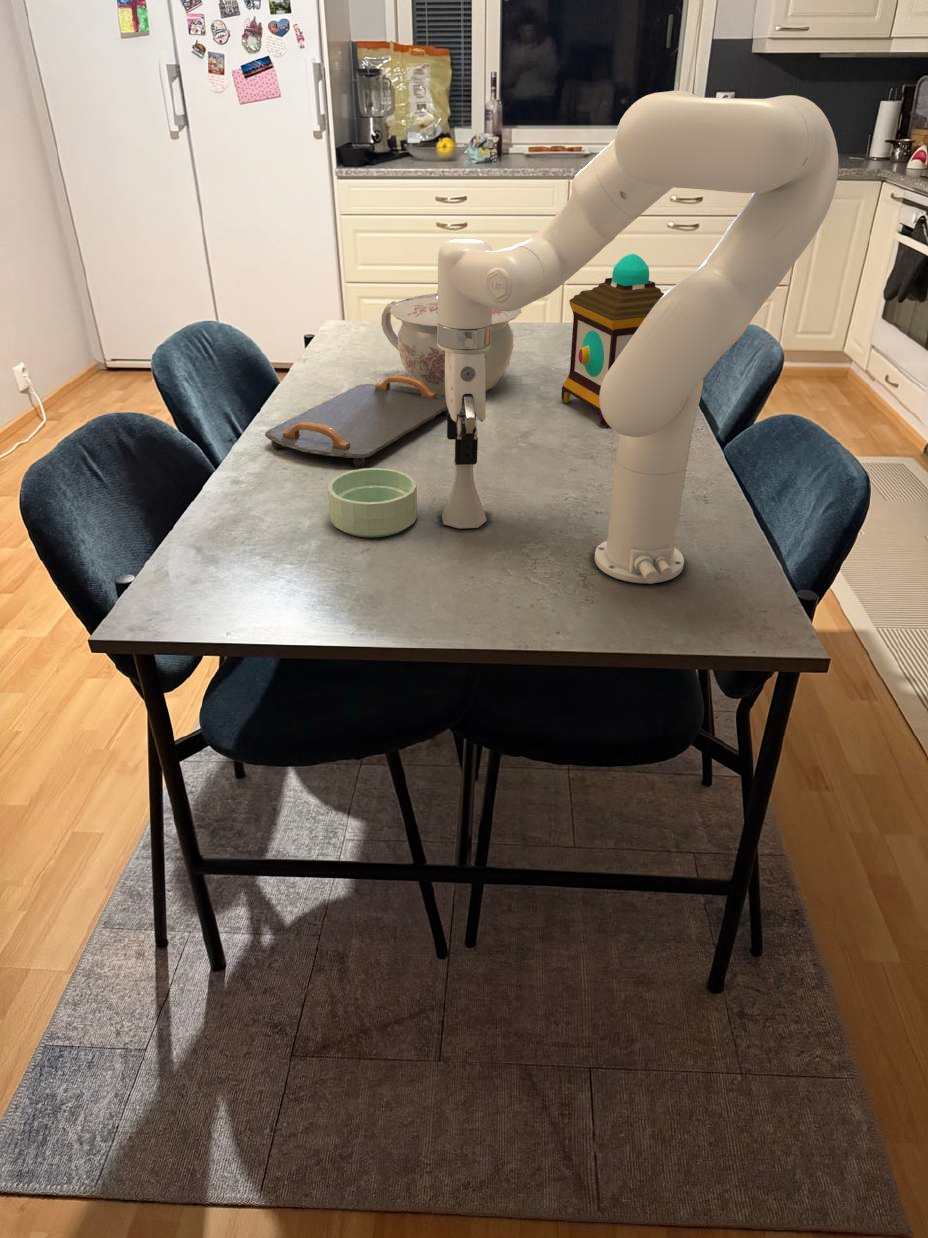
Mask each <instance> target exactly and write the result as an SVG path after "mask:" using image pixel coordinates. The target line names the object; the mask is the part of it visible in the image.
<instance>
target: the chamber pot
mask: <svg viewBox="0 0 928 1238" xmlns="http://www.w3.org/2000/svg"><path fill="white" fill-rule="evenodd" d="M521 314H522V308H520V309H518V310H515V311H500V310H496V309H493V308H492V323H491V347H490V349H489V350H487V351H485V352H484V356H485V383H486V385H485V392H487V391H489V390H492V388H494V387H495V386H496V384H497V383H499V381H500V379H501V378H502V376H503V375H504V373H505V372H506V370H507V369H508V367H509V366H510V362H511V358H512V354H513V349H514V330H513V328H512V326H511V324H510V321H513V320H515V319H517V318H518V316H520V315H521ZM392 316H393V317H394V318H395V319H396V320H399V321H401V325H400V326H399V328H398V332H397V334H396V332H395V331H394V329H393V325H392ZM380 323H381V324H380V325H381V327H382V331H383V334H384V336H386V338H387V340H388V341H389V343H390V344H391V345H392V346H393V347H394V348H395V349H396V350H397V351H398V352H399V356H400V360H401V364H402V366H403V368H404V369H405V371H406V373H407V374H408V377H411V378H415V379H417V380H420V381H421V382H423V383H424V384H425V385H426V386H427V387H428V389H429V390H430V391H431V392H434V393H436V394H439V395H442V396H444V397H445V351H443V350H441V349H439V348H438V346H437V323H438V292H435V293H434V292H433V293H425V294H420V295H416V296H411V297H408V298H404V299H402V300H399V301H396V300H393V301H391V302H389V303H387V305H386V306H385V307H384V309H383V311H382V314H381V321H380Z"/></svg>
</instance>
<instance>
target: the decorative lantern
mask: <svg viewBox="0 0 928 1238" xmlns="http://www.w3.org/2000/svg"><path fill="white" fill-rule="evenodd" d="M664 294H665V293H664V292H662V290H661V288H659V287H657V286H656V282H655V281H652V280H650V268H649V266H648V265H647V263H646V261H645V260H644V259H643V258H642V257H641V256H639V255H638V254H636V253H629V254H626V255H624V256H623V257H621V259H620V260H619V261H618V262H617V263H616V264H614V266H613V270H612V274H611V277H606V278H604V282H600V283H599V284H598V286H594V287H593V288H592V289H586V290H581V291H580V292H579V293H578V294H575V295H573V297H572V298H570V299H569V301H568V303H569V307H570V308H571V311H572V314H573V318H572V319H573V320H572V332H571V333H572V336H571V347H570V348H571V349H570V362H569V363H570V365H569V373H568V376H567V377H566V379H565V380H564V382H563V384H562V387H561V395H560V396H561V401H562V403H569V401H570V398H571V396H573V397H575V398H577V399H578V400H580V401H581V402H583V403H584V404H586V405H588V406H589V407H591V408H593V409H594V410H596V411H597V412H598V413H599V416H600V417H599V418H600V420H599V421H600V426H601V427H602V428H606V427H607V426H608V424H607V422H606V421H605V419H604V417H603V415H602V412H601V408H600V402H599V395H600V389H601V385H602V382H603V380H604V377H605V376H606V374H607V372H608V371H609V369H610V368H611V366H612V365H613V363H614V362H615V360H616V359H617V358H618V356H619V355H620V353H621V352H622V351H623V349H624V348H625V346H626V345H627V343H628V342H629V341H630V339H631V338H632V336H633V335H634V334H635V332H636V331H637V329H638V328H639V326H640V325H641V324H642V322H643V321H644V319H645V318H646V316H647V315H648V314H649V312H650V311H651V309H652V308H653V307H654V306H655V304H656V303H657V302H658V301H659V300H660V298H661V297H662V296H663V295H664Z"/></svg>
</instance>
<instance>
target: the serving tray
mask: <svg viewBox="0 0 928 1238" xmlns="http://www.w3.org/2000/svg"><path fill="white" fill-rule="evenodd" d="M391 383H398V384H399V383H401V384H406V385H410V386H404V385H397V384H396V385H395V384H391ZM411 386H413V387H411ZM448 413H449V412H448V407H447V404H446V397H445V396H442V395H439V394H436V393H434V392H431V391H430V390H429V389H428V387H427V386H426V385H425V384H424V383H423V382H421V381H420V380H417V379H415V378H411V377H410V376H407V375H391V376H388V377H387V378H385V379H384V380H383V381H382V382H376V383H375V384H374V383H363V384H358V385H356V386H353V387H352V388H349V389H348V390H346V391H344V392H342V393H340V394H338V395H336V396H334V397H332V398H329V399H328V400H325V401H323V402H322V403H320V404H318V405H315V406H314V407H311V408H309V409H307V410H306V411H303V412H302V413H300V414H298V415H295V416H294V417H292V418H289V419H287V420H285V421H284V422H282V423H279V424H277V425H276V426H274V427H272V428H269V429H268V430H266V431H265V433H264V436H265V438H267V439H268V440H270V444H271V446H272V448H273V449H274V450H282V447H285V448H289V449H292V450H296V451H298V452H303V453H307V454H313V455H321V456H328V457H336V458H337V457H338V458H345V459H351V458H352V459H353V460H352V463H353V465H354V466H355V468H356V469H363V468H364V466H365V464H366V458H369V457H371V456H372V455H375V454H376V453H378V452H379V451H381V450H383V449H384V448H386V447H388V446H389V445H391V444H393V443H395V442H396V441H398V440H399V439H400V438H402V437H403V436H405V435H407V434H408V433H410V432H411V433H412V432H413V431H414V430H417V429H418V428H419V427H420V426H422V425H423V424H425V423H427V422H429V421H430V420H433V419H435V417H436V416H437V415H441V416H447V414H448Z"/></svg>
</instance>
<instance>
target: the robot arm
mask: <svg viewBox="0 0 928 1238" xmlns="http://www.w3.org/2000/svg"><path fill="white" fill-rule="evenodd" d="M838 176H839V153H838V146H837V141H836V137H835V134H834V131H833V128H832V126H831V124H830V122H829V119H828V118H827V116H826V115H825V113H824V112H823V110H822V109H821V108H820V107H819V106H818V105H817V104H816V103H815V102H813V101H812V100H810V99H808V98H806V97H803V96H800V95H795V94H794V95H787V94H786V95H778V96H773V97H768V98H731V97H729V98H728V97H723V98H722V97H704V96H703V97H701V96H698V95H696V94H694V93H693V92H689V91H686V90H669V91H661V92H653V93H650V94H647V95H645V96H643V97H641V98H639V99H638V100H636V101H635V102H633V104H631V105H630V106H629V107H628V108H627V110H626V111H625V112H624V114H623V115H622V117H621V118H620V121H619V123H618V125H617V128H616V131H615V136H614V139H613V140H612V141H611V142H609V144H607V145H606V146H605V147H604V148H603V149H602V150H601V151H600V152H599V153H597V155H596V156H594V157H593V158H592V159H591V160H590V161H589V162H588V163H587V164H586V165H585V166H584V167H583V168H582V169H580V170H579V172H577V173H576V174H575V176H574V178H573V179H572V182H571V194H570V196H569V198H568V200H567V202H566V203H565V204H564V206H563V207H562V208H561V209H560V210H559V211H558V212H557V213H556V214H555V215H554V216H553V217H552V218H551V219H550V220H549V221H548V222H547V223H546V224H544V226H543V227H542V228H541V227H540V229H539V230H538V231H537V232H535V234H534V235H532V236H531V237H530V238H528V239H527V240H526V241H522V242H520V243H517V244H515V245H514V244H513V245H512V246H508V247H506V248H505V247H504V248H501V249H498V250H494V249H493V247H492V246H491V245H490V244H489V242H486V241H483V240H479V239H478V240H477V239H469V238H464V239H463V238H461V239H460V238H459V239H451V240H447V241H445V242H443V243H442V244H441V246H440V247H439V249H438V253H437V293H438V323H437V346H438V348H439V349H441V350H443V351H445V396H444V397H446V404H447V407H448V414H447V415H446V438H447V439H448V440H450V441H451V440H452V441H453V440H454V459H455V463H456V465H472V464H474V465H476V464H477V463H478V448H479V447H478V446H479V441H478V440H479V438H478V426H477V425H478V424H477V421H480V422H481V423H482V422H484V421H485V420H486V391H485V385H486V383H485V356H484V352H485V351H487V350H489V349H490V347H491V323H492V308H493V309H496V310H500V311H515V310H518V309H520V308H521V309H522V308H524V307H526V306H528V305H530V304H532V303H534V302H536V301H538V300H540V299H542V298H544V297H546V296H548V295H551V294H552V293H553V292H554V291H556V290H557V289H558V288H560V287H561V286H563V285H564V283H566V282H567V281H568V280H569V279H571V278H572V277H573V276H574V275H575V274H576V273H578V272H579V271H580V270H581V269H583V267H585V266H586V265H587V264H588V263H589V262H591V260H593V259H594V258H595V257H596V256H597V255H598V254H599V253H600V252H601V251H602V250H603V249H604V248H606V247H607V246H608V245H609V244H610V243H612V242H613V241H614V240H615V238H616V237H617V236H618V235H619V234H620V233H622V232H623V231H624V230H625V229H626V228H627V227H629V226H630V224H632V223H633V222H634V221H635V220H637V219H638V218H639V217H640V216H642V214H643V213H644V212H646V211H647V210H648V209H649V208H651V207H652V206H654V204H655V203H656V202H657V201H659V200H660V199H661V198H662V197H664V196H665V195H666V194H668V193H669V192H670V191H671V190H672V189H674V188H677V189H678V188H679V189H689V190H703V191H715V192H726V193H738V194H739V193H740V194H751V196H750V197H749V199H748V201H747V202H746V204H745V205H744V207H743V208H742V209H741V210H740V212H739V213H738V214H737V215H736V216H735V218H734V219H733V220H732V222H731V223H730V225H729V226H728V227H727V229H726V230H725V232H724V234H723V235H722V237H721V238H720V239H719V241H718V242H717V244H716V245H715V246H714V248H713V249H712V251H710V253H709V255H708V256H707V257H706V258H705V260H704V261H703V262H702V263H701V264H700V266H698V268H697V269H696V270H695V271H694V272H693V273H691V274H690V275H688V276H686V277H685V278H684V279H682V280H681V281H679V282H677V283H676V284H675V285H673V286H672V287H670V289H668V290H667V291H666V292H665V293H664V295H663V296H662V297H661V298H660V300H659V301H658V302H657V303H656V304H655V306H654V307H653V308H652V309H651V311H650V312H649V314H648V315H647V316H646V318H645V319H644V321H643V322H642V324H641V325H640V326H639V328H638V329H637V331H636V332H635V334H634V335H633V336H632V338H631V339H630V341H629V342H628V343H627V345H626V346H625V348H624V349H623V351H622V352H621V353H620V355H619V356H618V358H617V359H616V360H615V362H614V363H613V365H612V366H611V368H610V369H609V371H608V372H607V374H606V376H605V377H604V380H603V382H602V385H601V389H600V395H599V402H600V408H601V412H602V415H603V417H604V419H605V421H606V422H607V426H609V427H610V428H611V429H612V430H613V431H615V432H616V433H618V434H617V441H616V449H615V459H614V468H613V469H614V470H613V479H612V488H611V498H610V509H609V519H608V529H607V531H608V532H607V539H606V540H605V541H603V542H601V543H600V544H599V545H597V546H596V548H595V551H594V563H595V565H596V566H597V568H598V569H599V570H600V571H602V572H603V573H604V574H606V575H608V577H609V576H610V577H612V578H614V579H617V580H621V581H623V582H628V583H634V584H648V585H649V584H650V585H652V584H657V583H664V582H667V581H670V580H672V579H674V578H676V577H678V576H679V575H680V574H681V573H682V572H683V570H684V565H685V558H684V555H683V553H682V552H681V551H680V550H679V549H678V548H677V547H676V542H677V536H678V535H677V534H678V529H679V521H680V515H681V507H682V501H683V494H684V487H685V479H686V473H687V467H688V462H689V455H690V448H691V444H692V443H691V442H692V437H693V433H694V432H693V431H694V428H695V427H694V426H695V423H696V419H697V414H698V409H699V406H700V402H701V397H702V393H703V387H704V378H705V377H706V376H707V374H709V373H710V371H711V370H712V368H713V367H714V366H715V365H716V364H717V362H718V361H719V360H720V358H721V357H722V356H724V354H725V353H726V352H727V351H728V350H730V348H731V347H733V345H734V344H736V343H737V341H739V339H741V337H742V336H743V335H744V333H745V331H746V330H747V329H748V327H749V325H750V323H751V322H752V321H753V319H754V318H755V316H756V314H757V313H758V311H759V310H760V309H761V308H762V306H763V305H764V304H765V302H766V301H767V300H768V299H769V297H771V295H772V294H773V292H774V291H775V290H776V289H777V287H778V286H779V285H780V284H781V282H782V281H783V280H784V278H785V277H786V275H787V274H788V273H789V271H790V270H791V269H792V267H793V266H794V264H795V263H797V261H798V259H799V258H800V257H801V255H802V254H803V253H804V251H805V250H806V248H807V247H808V246H809V245H810V243H811V242H812V240H813V239H814V237H815V236H816V234H817V233H818V232H819V229H820V228H821V226H822V224H823V223H824V221H825V218H826V216H827V214H828V212H829V210H830V208H831V205H832V202H833V200H834V196H835V192H836V188H837V183H838ZM455 463H454V464H455Z"/></svg>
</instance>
